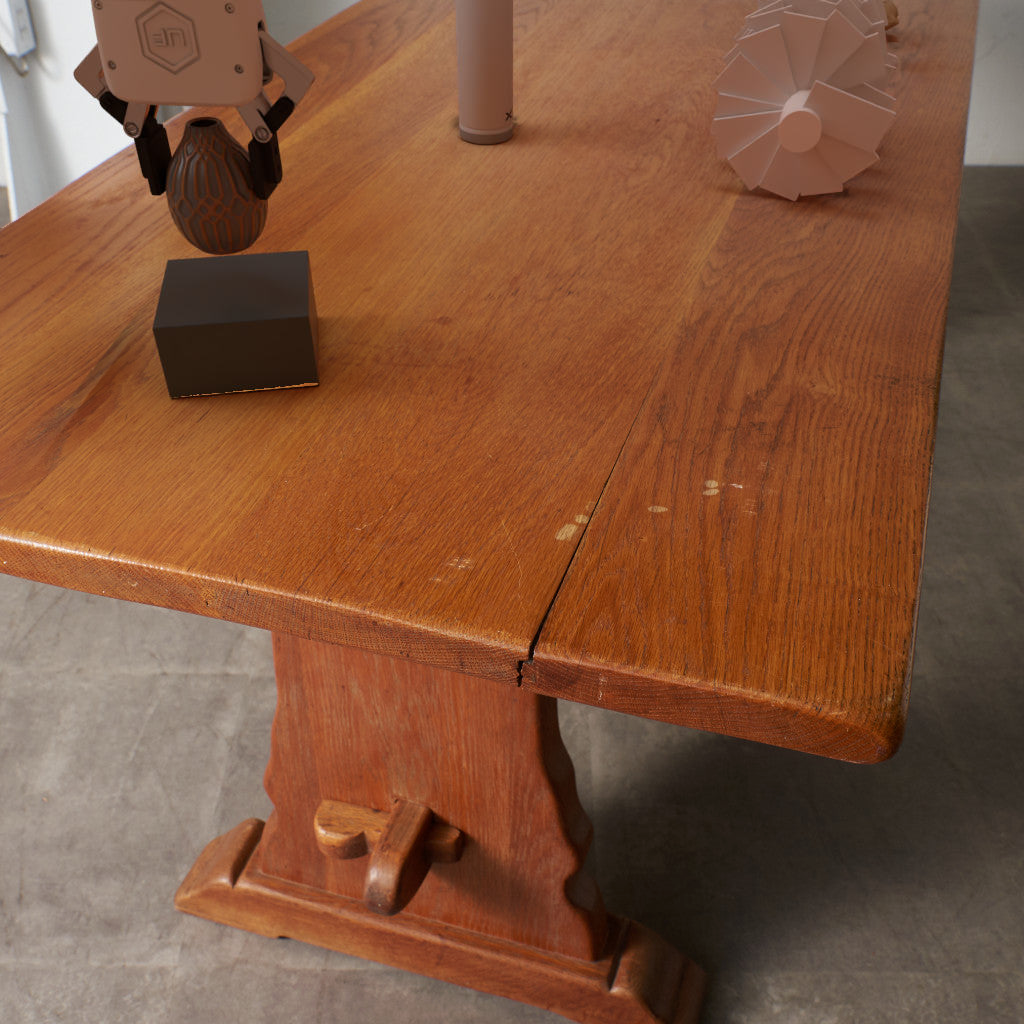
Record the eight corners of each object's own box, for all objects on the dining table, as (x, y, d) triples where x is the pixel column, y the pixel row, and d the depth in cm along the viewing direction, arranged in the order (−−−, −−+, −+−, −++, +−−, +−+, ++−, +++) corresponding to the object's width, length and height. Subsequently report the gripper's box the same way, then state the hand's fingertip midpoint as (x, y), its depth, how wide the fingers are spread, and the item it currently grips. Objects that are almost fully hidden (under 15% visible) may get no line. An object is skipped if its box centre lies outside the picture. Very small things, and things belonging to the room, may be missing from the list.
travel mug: (524, 139, 117) (526, -56, 104) (472, 148, 115) (467, -50, 102) (501, 122, 121) (500, -66, 108) (451, 131, 119) (444, -61, 106)
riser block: (170, 399, 75) (151, 328, 71) (183, 326, 83) (167, 259, 80) (319, 386, 76) (309, 315, 73) (317, 316, 85) (308, 249, 81)
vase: (275, 260, 72) (255, 136, 66) (175, 268, 71) (146, 143, 65) (273, 220, 77) (254, 102, 71) (180, 228, 76) (154, 108, 70)
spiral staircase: (735, 241, 105) (757, 145, 123) (913, 187, 97) (909, 93, 114) (675, 72, 96) (708, -5, 113) (867, -4, 87) (870, -75, 105)
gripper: (-12, -93, 58) (75, 207, 69) (285, -87, 56) (323, 217, 68) (48, -114, 63) (119, 166, 75) (318, -109, 62) (348, 175, 73)
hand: (215, 188), depth 71 cm, fingers closed on vase, 6 cm apart
